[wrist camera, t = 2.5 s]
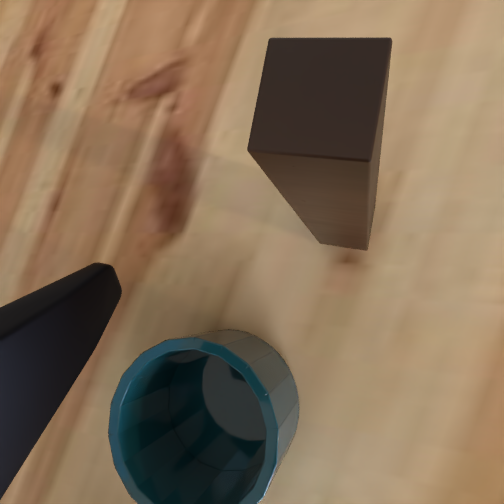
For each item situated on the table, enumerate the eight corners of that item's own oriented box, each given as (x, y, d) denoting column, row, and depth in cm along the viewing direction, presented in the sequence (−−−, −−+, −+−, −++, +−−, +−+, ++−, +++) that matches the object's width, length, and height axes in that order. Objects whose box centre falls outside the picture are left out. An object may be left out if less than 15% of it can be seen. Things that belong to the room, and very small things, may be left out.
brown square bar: (367, 250, 19) (371, 162, 7) (319, 243, 20) (245, 150, 8) (375, 204, 20) (393, 35, 7) (327, 198, 20) (267, 36, 8)
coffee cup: (310, 476, 19) (290, 536, 14) (170, 477, 21) (112, 529, 16) (290, 322, 20) (266, 329, 15) (159, 336, 22) (103, 346, 17)
